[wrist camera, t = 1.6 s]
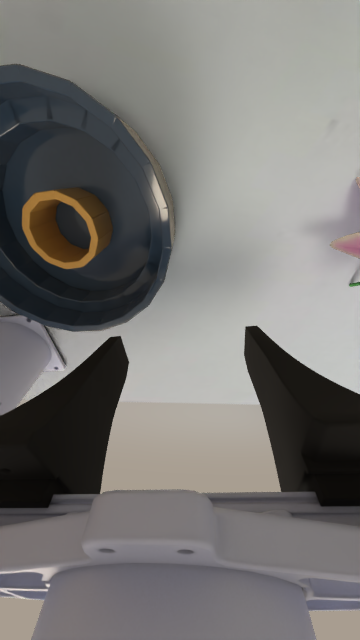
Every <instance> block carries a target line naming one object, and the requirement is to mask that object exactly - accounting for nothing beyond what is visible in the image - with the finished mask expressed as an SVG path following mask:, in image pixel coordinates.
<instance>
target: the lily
mask: <svg viewBox="0 0 360 640" xmlns="http://www.w3.org/2000/svg"><path fill="white" fill-rule="evenodd" d="M356 182H357V184H358V186H359V188H360V177H357V178H356ZM330 246H331V247H332V248H334V249H336V250H339V251H341V252H344V253H346V254H349V255H352V256H354V257H357V258H360V232H357V233H354V234H350V235H347V236H344V237H341V238H339V239H337V240H335V241H332V242H331V244H330ZM358 285H360V282H357V283H351V284H350V285H349V286H350V287H352V286H358Z"/></svg>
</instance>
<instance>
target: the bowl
mask: <svg viewBox="0 0 360 640" xmlns="http://www.w3.org/2000/svg"><path fill="white" fill-rule="evenodd" d="M76 187H77V188H81V189H83V190H85V191H87V192H89V193H92V194H94V195H95V196H97V198H98V199H99V200H100V201H101V202H102V204H103V205H104V206H105V207H106V209H107V210H108V212H109V215H110V219H111V223H112V226H113V231H112V236H111V240H110V243H109V245H108V246H107V247H106V248H104V249H103V250H102V251H101V252H100V253H99V254H98V255H96V256H95V257H94V258H93V259H92V260H91V261H90V262H88V263H87V264H86V265H85V266H84V267H81V268H72V269H64V268H61V267H59V266H56V265H54V264H51V263H48V261H45V260H44V259H43V258H42V257H41V256H40V255H39V254H38V253H37V252H36V251H35V250H34V249H33V248H32V247H31V246H30V244H29V241H28V239H27V237H26V235H25V233H24V231H23V229H22V228H23V227H22V208H23V206H24V205H25V203H26V202H27V201H28V200H29V199H30V197H31V196H32V195H33V194H34V193H36V192H43V191H50V190H58V189H67V188H76ZM55 220H56V222H57V225H58V228H59V230H60V233H61V234H62V235H63V236H64V237H65V238H66V239H67V240H68V241H69V242H70V244H72V245H74V246H77V247H79V248H82V249H89V247H90V242H91V235H90V232H89V229H88V226H87V223H86V221H85V220H84V219H83V217H82V216H81V215H80V214H79V213H78V212H77V211H76V210H75V208H74V207H73V206H70V205H68V204H66V203H64V202H60V203H59V204H58V206H57V210H56V219H55ZM174 237H175V222H174V209H173V201H172V197H171V194H170V191H169V189H168V186H167V183H166V180H165V178H164V175H163V172H162V170H161V167H160V165H159V163H158V162H157V160H156V159H155V158H154V156H153V155H152V153H151V152H150V151H149V149H148V148H147V147H146V145H145V144H144V142H143V141H142V140H141V138H140V137H139V136H138V134H137V133H136V132H135V131H134V130H133V129H132V128H131V127H130V126H128V125H127V124H126V123H125V122H124V121H122V120H121V119H120V118H119V117H118V116H116V115H115V114H114V113H112V112H111V111H110V110H108V109H107V108H106V107H104V106H103V105H102V104H101V103H99V102H98V101H97V100H95V99H94V98H93V97H91V96H90V95H89V94H87V93H86V92H85V91H84V90H82V89H81V88H80V87H78V86H77V85H76V84H74V83H73V82H71V81H70V80H66V79H63V78H60V77H57V76H54V75H51V74H48V73H45V72H42V71H39V70H36V69H33V68H30V67H27V66H24V65H21V64H11V65H2V66H0V302H1V303H2V304H4V305H5V306H7V307H8V308H9V309H11V310H12V311H14V312H15V313H18V314H20V315H22V316H24V317H27V318H29V319H31V320H33V321H35V322H38V323H40V324H42V325H45V326H49V327H54V328H59V329H63V330H68V331H73V332H78V331H102V330H105V329H108V328H111V327H114V326H117V325H120V324H123V323H126V322H128V321H129V320H131V319H132V318H133V317H134V316H136V315H137V314H138V313H140V312H141V311H142V310H144V309H145V308H146V307H148V305H149V304H150V303H151V301H152V300H153V298H154V297H155V295H156V293H157V292H158V290H159V289H160V287H161V286H162V284H163V282H164V280H165V276H166V272H167V268H168V263H169V259H170V255H171V250H172V246H173V241H174Z"/></svg>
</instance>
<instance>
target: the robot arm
mask: <svg viewBox="0 0 360 640" xmlns="http://www.w3.org/2000/svg"><path fill="white" fill-rule="evenodd" d="M244 356H245V360H246V365H247V369H248V372H249V375H250V378H251V381H252V383H253V386H254V389H255V391H256V394H257V397H258V399H259V402H260V405H261V408H262V411H263V415H264V418H265V422H266V426H267V430H268V434H269V438H270V442H271V447H272V451H273V455H274V460H275V464H276V468H277V473H278V478H279V483H280V487H281V492H245V493H199V492H196V491H190V490H115V491H107V492H103V493H102V494H100V490H101V482H102V475H103V469H104V462H105V457H106V451H107V446H108V440H109V435H110V430H111V426H112V421H113V417H114V414H115V410H116V407H117V404H118V401H119V398H120V395H121V392H122V389H123V386H124V383H125V380H126V376H127V371H128V365H129V361H128V358H127V355H126V352H125V348H124V345H123V342H122V339H121V336H117V337H110V338H109V339H108V340H107V341H105V342H104V343H103V344H102V345H101V346H100V347H99V348H98V349H97V350H96V351H95V352H94V353H93V354H92V355H91V356H90V357H88V358H87V359H86V360H85V361H84V362H83V363H82V364H80V365H79V366H78V367H77V368H76V369H75V370H73V371H72V372H71V373H70V374H68V375H67V376H66V377H65V378H63V379H62V380H60V381H59V382H58V383H56V384H55V385H53V386H52V387H50V388H49V389H47V390H46V391H44V392H43V393H41V394H39V395H38V396H36V397H35V398H33V399H31V400H29V401H28V402H26V403H24V404H22V405H20V406H19V407H17V406H18V404H19V403H20V401H21V400H22V399H23V398H24V396H25V395H26V393H27V392H28V391H29V389H30V388H31V387H32V385H33V384H34V383H35V381H36V380H37V379H38V377H39V376H40V375H41V373H42V372H47V371H62V370H64V369H65V367H66V366H65V364H64V362H63V360H62V358H61V357H60V355H59V353H58V351H57V349H56V347H55V346H54V344H53V342H52V340H51V338H50V336H49V335H48V333H47V331H46V329H45V327H44V325H42V324H40V323H38V322H35V321H33V320H31V319H30V320H29V318H27V317H24V316H22V315H18V316H7V317H0V597H10V598H22V599H34V600H44V603H43V606H42V609H41V612H40V615H39V618H38V621H37V624H36V627H35V630H34V633H33V636H32V639H31V640H316V636H315V633H314V629H313V625H312V622H311V618H310V614H309V611H340V610H341V611H345V610H360V394H358V393H355V392H353V391H351V390H349V389H347V388H345V387H342V386H340V385H338V384H336V383H334V382H332V381H331V380H329V379H327V378H325V377H323V376H321V375H320V374H318V373H316V372H314V371H313V370H311V369H310V368H308V367H307V366H305V365H303V364H302V363H300V362H299V361H297V360H296V359H295V358H293V357H292V356H291V355H289V354H288V353H287V352H285V351H284V350H283V349H282V348H281V347H280V346H278V345H277V344H276V343H275V342H274V341H273V340H272V339H270V338H269V337H268V336H267V335H266V334H265V333H264V332H263V331H262V330H261V329H260V328H259V327H258V326H248V327H246V329H245V349H244ZM16 407H17V408H16Z"/></svg>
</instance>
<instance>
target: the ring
mask: <svg viewBox="0 0 360 640" xmlns="http://www.w3.org/2000/svg"><path fill="white" fill-rule="evenodd" d="M60 202H64V203H66V204H68V205H70V206H73V207H74V208H75V210H76V211H77V212H78V213H79V214H80V215H81V216H82V217H83V219H84V220H85V221H86V223H87V226H88V229H89V232H90V235H91V242H90V247H89V249H82V248H79V247H77V246H74V245H72V244H70V242H69V241H68V240H67V239H66V238H65V237H64V236H63V235H62V234H61V233H60V230H59V228H58V225H57V222H56V220H55V219H56V210H57V206H58V204H59V203H60ZM22 227H23V228H22V229H23V231H24V233H25V235H26V237H27V239H28V241H29V244H30V246H31V247H32V248H33V249H34V250H35V251H36V252H37V253H38V254H39V255H40V256H41V257H42V258H43V259H44V260H45V261H48V263H51V264H54V265H56V266H59V267H61V268H64V269H72V268H81V267H84V266H85V265H86V264H87V263H88V262H90V261H91V260H92V259H93V258H94V257H95V256H96V255H98V254H99V253H100V252H101V251H102V250H103V249H104V248H106V247H107V246H108V245H109V243H110V240H111V236H112V231H113V226H112V223H111V219H110V215H109V212H108V210H107V209H106V207H105V206H104V205H103V204H102V202H101V201H100V200H99V199H98V198H97V196H95V195H94V194H92V193H89V192H87V191H85V190H83V189H81V188H77V187H76V188H67V189H58V190H50V191H43V192H36V193H34V194H33V195H32V196H31V197H30V199H29V200H28V201H27V202H26V203H25V205H24V206H23V208H22Z"/></svg>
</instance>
